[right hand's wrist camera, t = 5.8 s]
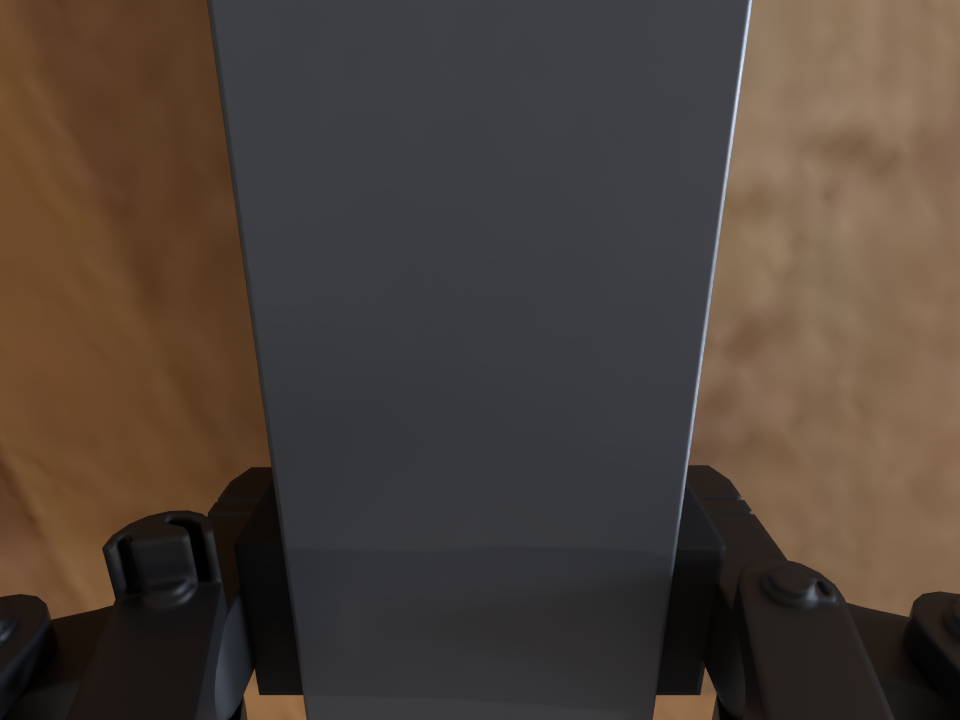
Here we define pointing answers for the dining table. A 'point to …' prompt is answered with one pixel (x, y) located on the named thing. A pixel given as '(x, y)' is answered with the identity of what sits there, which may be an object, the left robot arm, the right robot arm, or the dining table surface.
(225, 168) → the dining table surface
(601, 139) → the beam
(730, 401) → the dining table surface
